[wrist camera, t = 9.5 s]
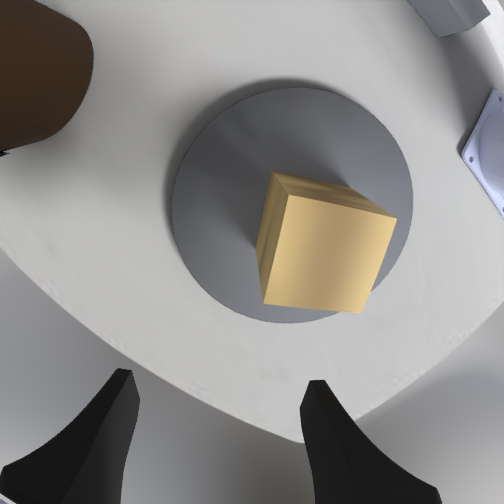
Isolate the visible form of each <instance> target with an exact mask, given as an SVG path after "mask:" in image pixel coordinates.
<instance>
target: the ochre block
mask: <svg viewBox="0 0 504 504" xmlns="http://www.w3.org/2000/svg"><path fill="white" fill-rule="evenodd" d="M396 221H397V218H395V217H394V216H393V215H391V214H390V213H388V212H387V211H385V210H384V209H382V208H381V207H380V206H378V205H377V204H375V203H374V202H372V201H371V200H369V199H368V198H366V197H364V196H363V195H361V194H360V193H358V192H357V191H355V190H354V189H352V188H350V187H347V186H342V185H338V184H334V183H330V182H325V181H321V180H317V179H312V178H307V177H303V176H298V175H293V174H288V173H283V172H278V171H273V170H272V171H271V175H270V180H269V185H268V190H267V195H266V200H265V205H264V210H263V214H262V219H261V224H260V229H259V234H258V239H257V244H256V248H255V249H256V256H257V263H258V270H259V278H260V285H261V292H262V299H263V304H270V305H279V306H288V307H298V308H307V309H318V310H328V311H340V312H352V313H362V310H363V308H364V306H365V303H366V301H367V299H368V296H369V294H370V292H371V289H372V287H373V284H374V282H375V279H376V277H377V274H378V272H379V269H380V266H381V264H382V261H383V258H384V256H385V253H386V250H387V247H388V245H389V242H390V239H391V236H392V233H393V230H394V227H395V224H396Z"/></svg>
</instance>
